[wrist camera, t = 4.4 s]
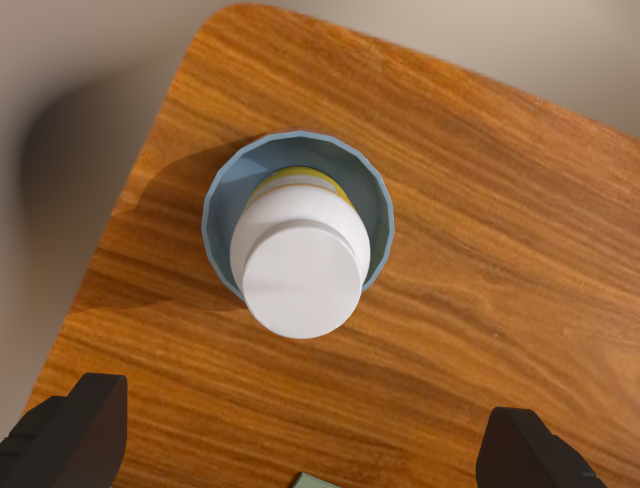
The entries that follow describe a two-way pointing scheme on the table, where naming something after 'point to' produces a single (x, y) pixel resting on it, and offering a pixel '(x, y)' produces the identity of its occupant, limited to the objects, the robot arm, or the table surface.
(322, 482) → the mat
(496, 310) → the table surface
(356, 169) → the grey-blue round dish
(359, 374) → the table surface
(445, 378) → the table surface
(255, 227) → the pill bottle
